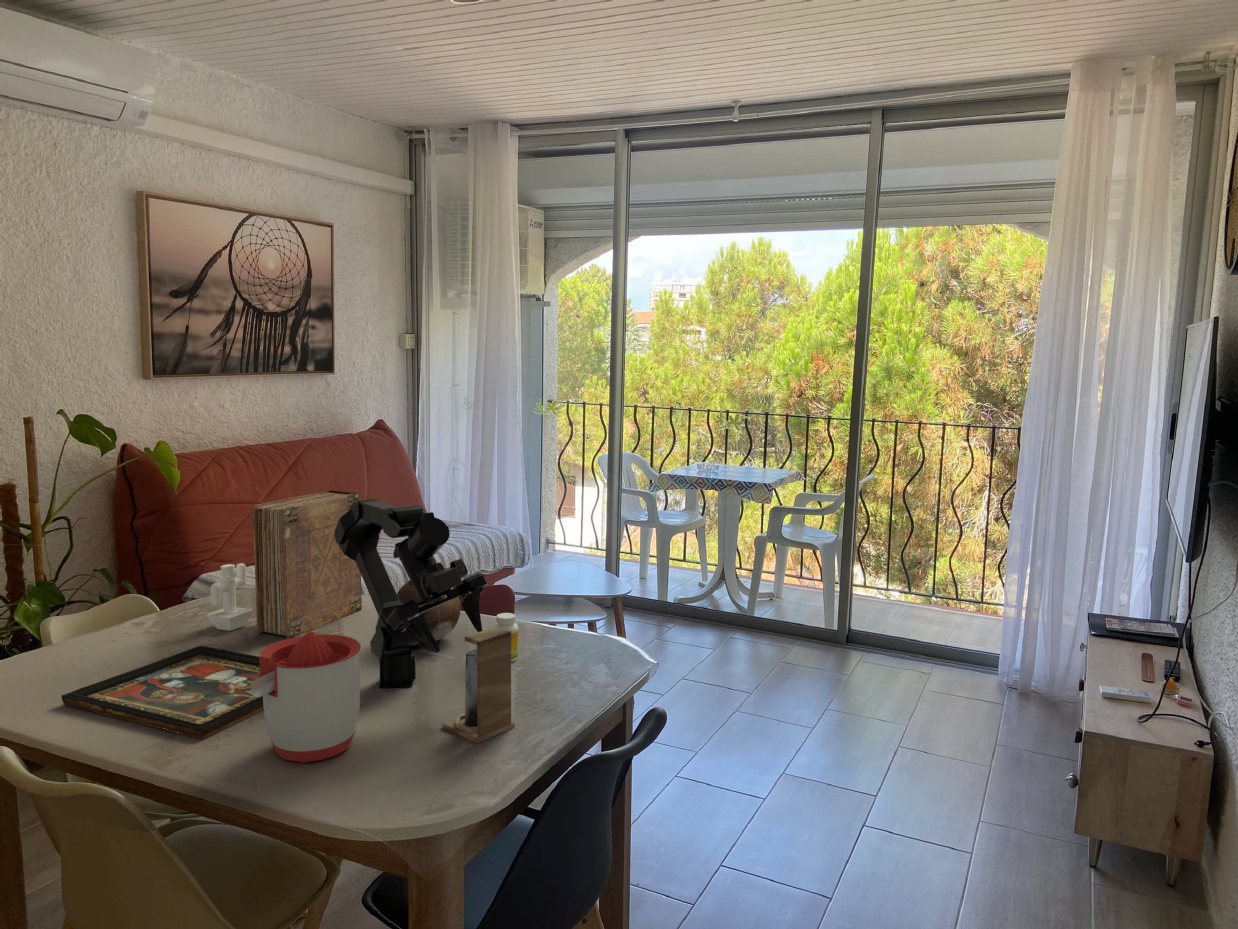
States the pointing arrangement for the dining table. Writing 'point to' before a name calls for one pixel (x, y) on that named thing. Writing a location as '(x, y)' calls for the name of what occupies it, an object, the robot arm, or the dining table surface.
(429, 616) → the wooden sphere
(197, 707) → the framed icon painting
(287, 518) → the book
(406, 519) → the robot arm
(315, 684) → the citrus juicer
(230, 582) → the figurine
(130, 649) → the dining table surface
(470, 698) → the metal tin
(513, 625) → the supplement bottle
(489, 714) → the ledge stand
